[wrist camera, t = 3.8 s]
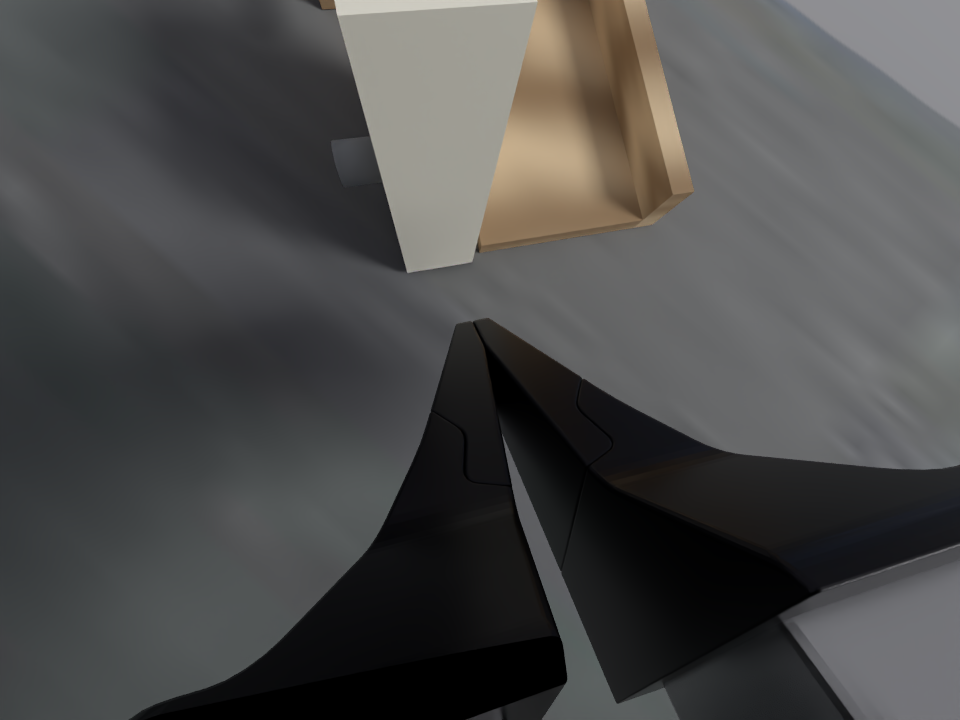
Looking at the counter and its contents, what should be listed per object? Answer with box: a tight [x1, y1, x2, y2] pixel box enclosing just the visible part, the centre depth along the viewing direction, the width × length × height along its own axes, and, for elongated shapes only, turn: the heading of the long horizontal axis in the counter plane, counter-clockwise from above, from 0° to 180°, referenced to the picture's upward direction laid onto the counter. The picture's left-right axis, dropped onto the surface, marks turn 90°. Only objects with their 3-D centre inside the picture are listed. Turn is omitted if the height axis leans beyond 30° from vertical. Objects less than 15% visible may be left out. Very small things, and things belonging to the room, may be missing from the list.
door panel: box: [331, 0, 538, 273], centre depth 11 cm, size 8×4×11 cm, turn 12°
